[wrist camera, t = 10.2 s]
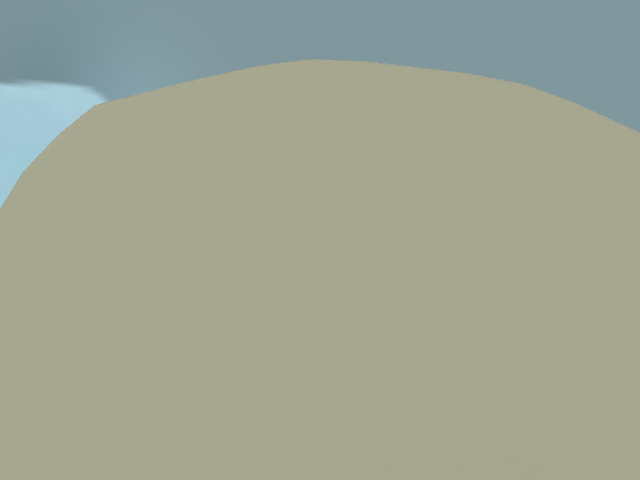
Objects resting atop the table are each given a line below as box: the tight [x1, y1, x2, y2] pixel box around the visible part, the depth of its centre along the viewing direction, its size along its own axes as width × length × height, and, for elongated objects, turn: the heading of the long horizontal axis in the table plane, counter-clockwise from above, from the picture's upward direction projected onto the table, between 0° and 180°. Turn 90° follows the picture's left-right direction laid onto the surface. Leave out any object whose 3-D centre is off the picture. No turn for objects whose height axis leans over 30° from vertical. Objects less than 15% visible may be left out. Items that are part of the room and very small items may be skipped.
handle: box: [0, 59, 640, 480], centre depth 11 cm, size 5×6×15 cm
